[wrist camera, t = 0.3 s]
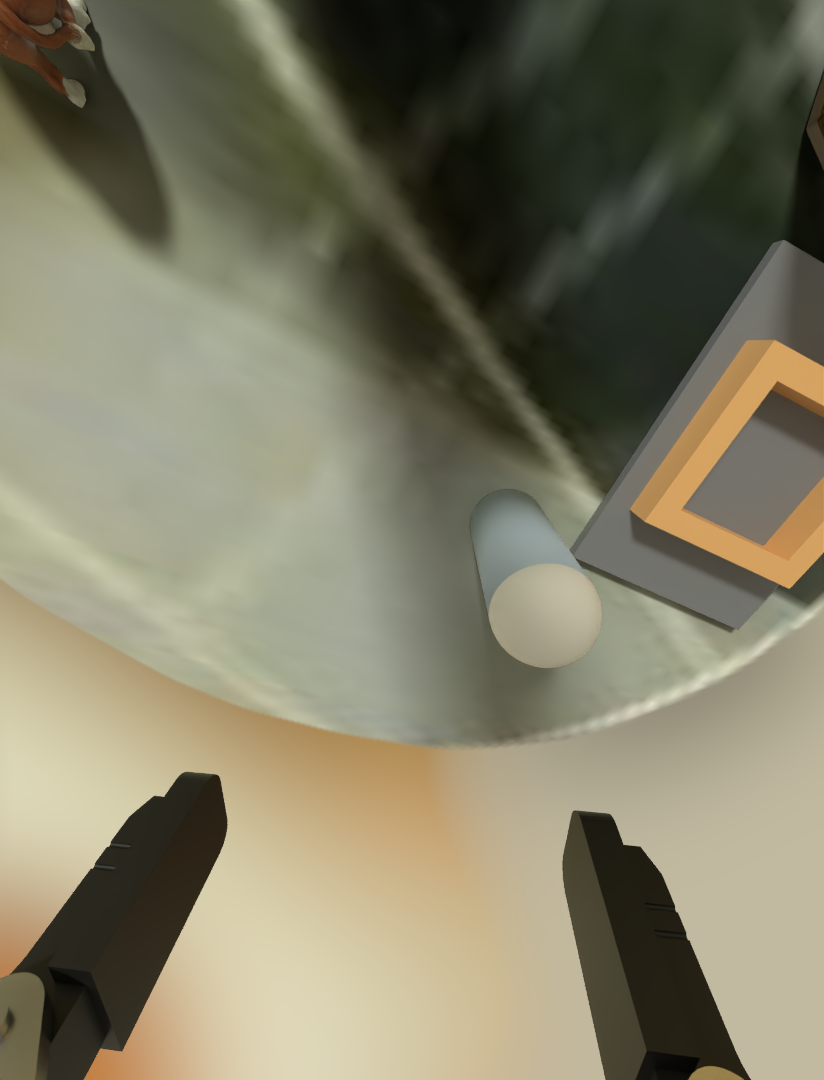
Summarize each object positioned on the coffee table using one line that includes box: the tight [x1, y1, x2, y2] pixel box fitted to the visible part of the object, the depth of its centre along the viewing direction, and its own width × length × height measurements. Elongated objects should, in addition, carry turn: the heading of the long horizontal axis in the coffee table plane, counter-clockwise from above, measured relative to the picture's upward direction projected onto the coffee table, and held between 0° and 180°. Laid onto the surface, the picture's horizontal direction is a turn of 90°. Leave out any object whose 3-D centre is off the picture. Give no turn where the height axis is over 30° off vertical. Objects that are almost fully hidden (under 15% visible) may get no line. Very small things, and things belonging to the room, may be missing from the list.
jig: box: [570, 240, 824, 630], centre depth 27 cm, size 20×14×3 cm
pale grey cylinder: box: [470, 489, 602, 668], centre depth 24 cm, size 5×5×14 cm
